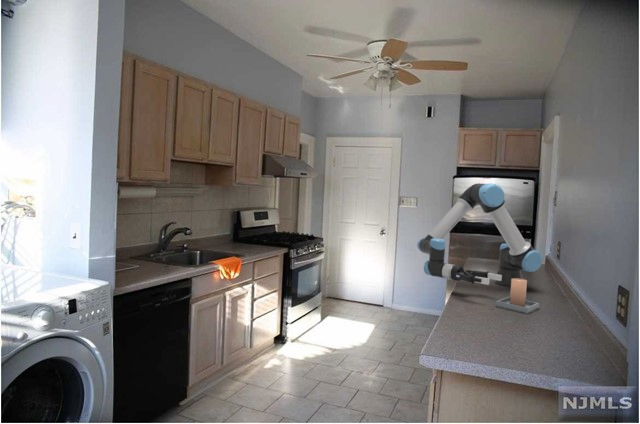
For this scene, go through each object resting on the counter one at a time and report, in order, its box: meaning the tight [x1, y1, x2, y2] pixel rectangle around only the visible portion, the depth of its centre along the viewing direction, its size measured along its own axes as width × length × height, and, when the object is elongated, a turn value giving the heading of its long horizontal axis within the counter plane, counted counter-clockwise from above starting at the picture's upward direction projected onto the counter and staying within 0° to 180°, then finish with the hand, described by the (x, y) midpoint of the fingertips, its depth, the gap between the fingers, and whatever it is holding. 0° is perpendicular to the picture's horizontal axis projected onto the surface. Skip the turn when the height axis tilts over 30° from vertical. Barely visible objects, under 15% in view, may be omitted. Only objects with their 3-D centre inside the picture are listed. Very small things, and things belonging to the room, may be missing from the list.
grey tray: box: [495, 296, 540, 315], centre depth 200 cm, size 14×14×2 cm
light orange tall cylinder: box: [509, 278, 528, 307], centre depth 200 cm, size 6×6×12 cm
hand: (495, 280), depth 207 cm, fingers open, 13 cm apart
